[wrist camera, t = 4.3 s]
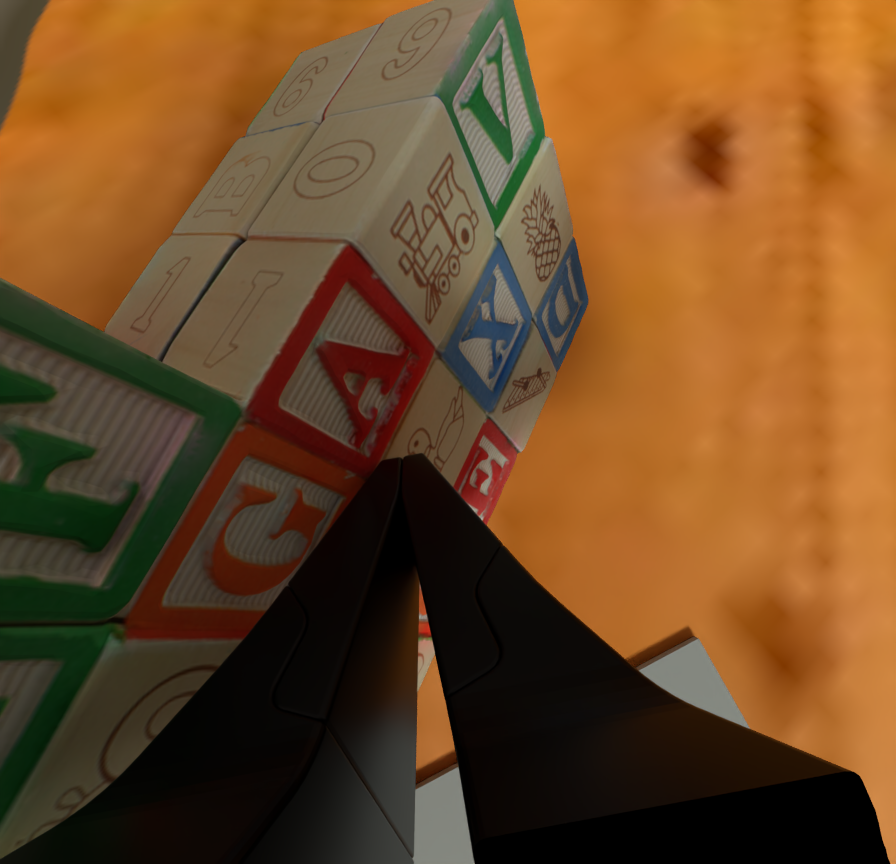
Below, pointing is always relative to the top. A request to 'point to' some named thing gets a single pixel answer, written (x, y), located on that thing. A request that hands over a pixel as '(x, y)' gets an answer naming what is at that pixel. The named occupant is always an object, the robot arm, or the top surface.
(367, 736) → the robot arm
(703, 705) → the grey rubber mat
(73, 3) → the top surface
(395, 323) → the stack of blocks
